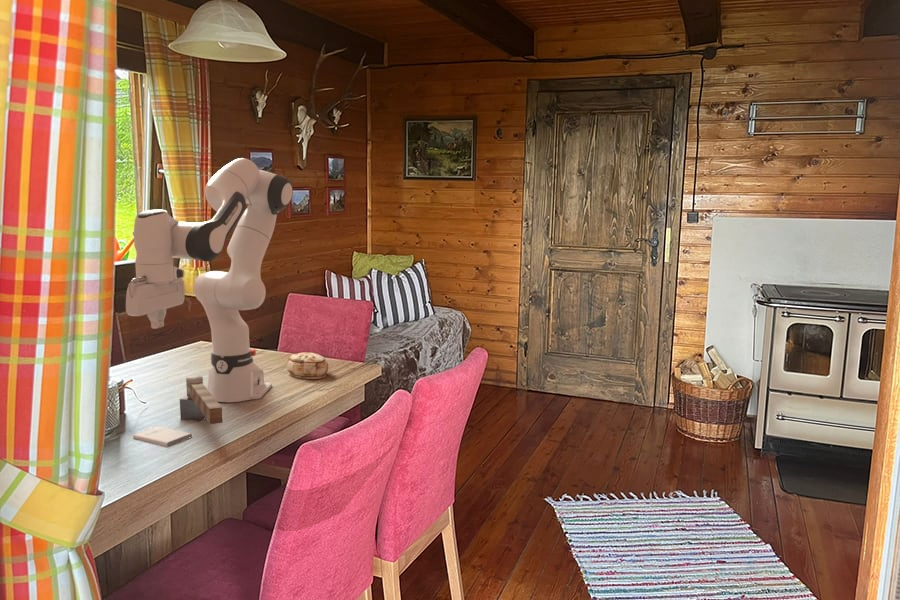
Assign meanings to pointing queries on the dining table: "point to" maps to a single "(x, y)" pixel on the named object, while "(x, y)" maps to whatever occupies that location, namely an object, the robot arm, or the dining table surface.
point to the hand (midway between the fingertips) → (157, 327)
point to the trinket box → (307, 365)
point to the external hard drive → (162, 436)
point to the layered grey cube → (190, 410)
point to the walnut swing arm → (204, 399)
